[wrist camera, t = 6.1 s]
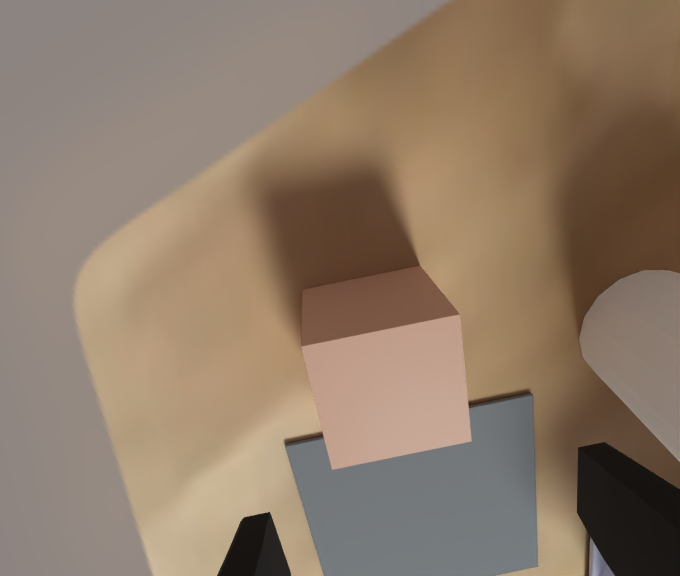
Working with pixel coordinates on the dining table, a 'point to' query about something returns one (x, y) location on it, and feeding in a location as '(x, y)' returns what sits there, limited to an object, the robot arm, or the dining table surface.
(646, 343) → the white cup
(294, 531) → the dining table surface
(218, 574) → the robot arm
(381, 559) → the slate mat
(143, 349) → the dining table surface
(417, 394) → the terracotta block
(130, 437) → the dining table surface
